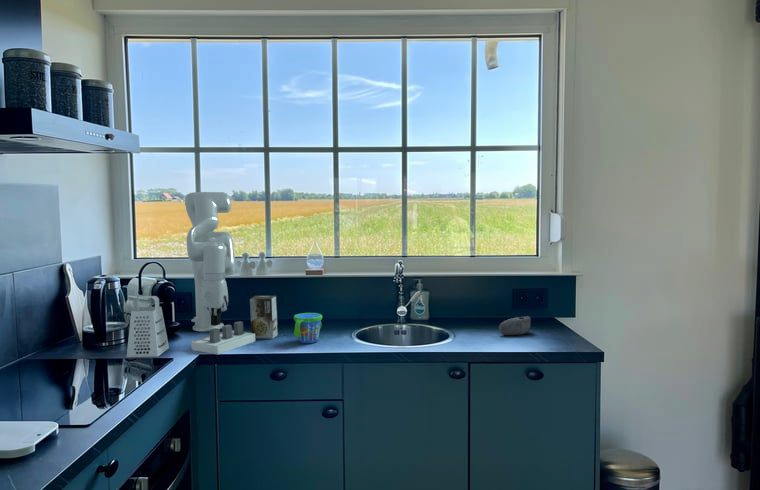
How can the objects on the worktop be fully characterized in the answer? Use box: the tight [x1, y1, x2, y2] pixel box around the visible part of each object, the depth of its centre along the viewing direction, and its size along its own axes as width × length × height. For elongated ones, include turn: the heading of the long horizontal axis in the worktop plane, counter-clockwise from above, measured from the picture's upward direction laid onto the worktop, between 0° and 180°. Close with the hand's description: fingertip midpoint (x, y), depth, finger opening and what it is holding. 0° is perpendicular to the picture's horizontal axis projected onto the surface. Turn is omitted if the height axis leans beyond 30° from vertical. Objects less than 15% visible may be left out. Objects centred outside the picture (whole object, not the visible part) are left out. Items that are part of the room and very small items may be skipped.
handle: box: [208, 328, 221, 343], centre depth 172 cm, size 3×3×4 cm
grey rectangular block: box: [221, 324, 233, 339], centre depth 177 cm, size 3×3×4 cm
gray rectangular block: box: [233, 321, 245, 335], centre depth 183 cm, size 3×3×4 cm
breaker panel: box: [191, 329, 256, 355], centre depth 178 cm, size 13×19×3 cm
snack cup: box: [293, 312, 323, 344], centre depth 183 cm, size 16×10×10 cm
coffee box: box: [249, 295, 278, 339], centre depth 190 cm, size 9×6×16 cm
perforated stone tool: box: [498, 315, 532, 336], centre depth 191 cm, size 15×5×7 cm, turn 106°
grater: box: [126, 295, 170, 358], centre depth 170 cm, size 10×10×20 cm
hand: (215, 324), depth 180 cm, fingers closed
